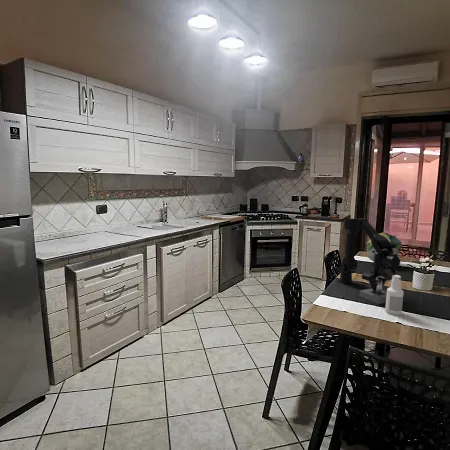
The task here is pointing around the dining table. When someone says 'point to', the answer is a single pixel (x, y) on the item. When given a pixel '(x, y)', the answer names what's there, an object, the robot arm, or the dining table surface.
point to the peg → (378, 288)
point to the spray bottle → (394, 297)
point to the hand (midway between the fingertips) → (377, 291)
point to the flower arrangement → (393, 242)
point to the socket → (374, 296)
